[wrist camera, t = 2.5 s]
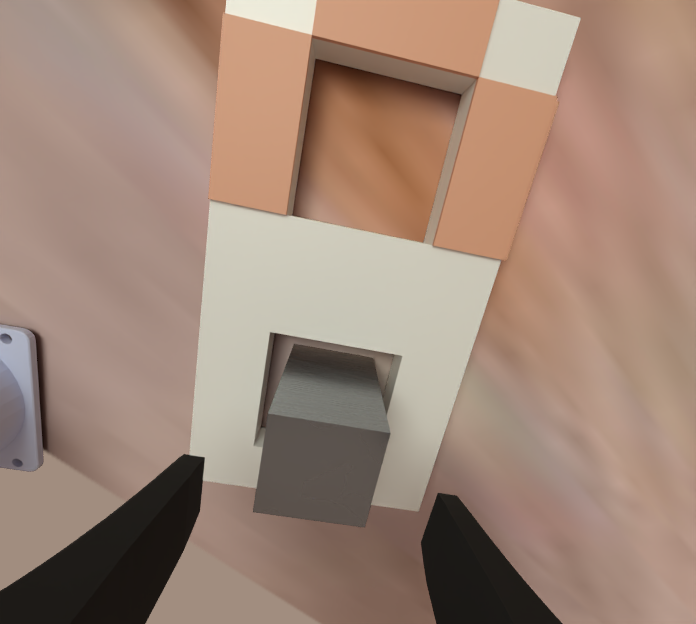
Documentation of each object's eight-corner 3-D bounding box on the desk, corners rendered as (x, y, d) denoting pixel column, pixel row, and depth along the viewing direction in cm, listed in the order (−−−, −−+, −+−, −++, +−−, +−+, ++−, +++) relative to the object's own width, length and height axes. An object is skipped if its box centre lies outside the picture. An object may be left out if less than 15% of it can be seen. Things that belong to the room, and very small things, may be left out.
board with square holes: (200, 457, 18) (185, 481, 16) (246, -41, 12) (230, -83, 10) (417, 489, 19) (424, 515, 17) (560, 42, 13) (593, 16, 11)
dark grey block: (282, 413, 17) (252, 512, 11) (294, 343, 16) (268, 413, 10) (356, 425, 17) (364, 527, 12) (372, 357, 16) (390, 433, 11)
